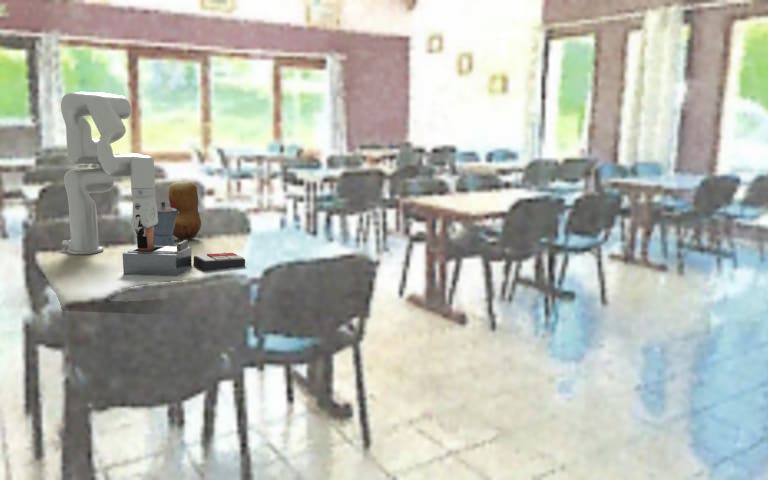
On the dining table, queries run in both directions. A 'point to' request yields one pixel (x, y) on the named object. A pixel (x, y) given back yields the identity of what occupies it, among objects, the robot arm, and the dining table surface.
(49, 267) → the dining table surface
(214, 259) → the calculator
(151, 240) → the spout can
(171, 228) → the moka pot
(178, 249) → the guard cover
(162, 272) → the grey metal box
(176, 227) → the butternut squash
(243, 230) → the dining table surface
